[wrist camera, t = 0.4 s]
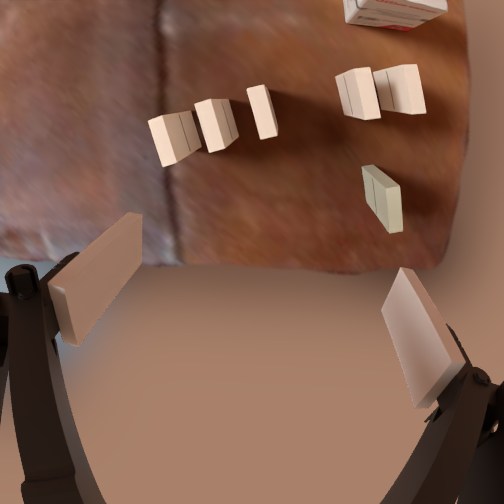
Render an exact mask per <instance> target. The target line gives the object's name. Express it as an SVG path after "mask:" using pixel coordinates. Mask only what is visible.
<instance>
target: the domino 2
mask: <svg viewBox="0 0 504 504" xmlns="http://www.w3.org/2000/svg"><path fill="white" fill-rule="evenodd" d="M194 105H195V108H196V111H197V115H198V118H199V121H200V124H201V128H202V131H203V134H204V138H205V141H206V144H207V148H208V151H209V153H211V152H214V151H218V150H221V149H225V148H226V147H227V146H229V145H230V144H231V143H232V142H233V141H234V140H236V139H237V138H238V137H239V134H238V131H237V127H236V124H235V120H234V117H233V113H232V110H231V106H230V103H229V99H209V100H205V101H202V102H199V103H196V104H194Z"/></svg>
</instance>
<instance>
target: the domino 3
mask: <svg viewBox="0 0 504 504" xmlns="http://www.w3.org/2000/svg"><path fill="white" fill-rule="evenodd" d="M247 93H248V96H249V100H250V103H251V107H252V110H253V114H254V118H255V121H256V125H257V129H258V132H259V136H260V140H261V139H265V138H270V137H274V136H277V135H278V124H277V120H276V117H275V113H274V109H273V105H272V102H271V98H270V94H269V91H268V89H267V88H266V86H265V85H260V86H256V87H252V88H248V89H247Z"/></svg>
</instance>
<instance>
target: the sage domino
mask: <svg viewBox="0 0 504 504" xmlns="http://www.w3.org/2000/svg"><path fill="white" fill-rule="evenodd" d="M362 172H363V179H364V186H365V193H366V201H367V203H368V205H369V206H370V207H371V209H372V210H373V211H374V213H375V214H376V215H377V217H378V218H379V220H380V221H381V222H382V224H383V225H384V227H385V228H386V229H387V231H388V232H389V234H390V233H395V232H400V231H403V221H402V205H401V192H400V186H399V185H398V184H397V183H396V182H394V181H393V180H392V179H391V178H390V177H388V176H387V175H386V174H385V173H383V172H382V171H381V170H379V169H378V168H377V167H376V166H374V165H367V166H362Z"/></svg>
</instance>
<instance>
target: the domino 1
mask: <svg viewBox="0 0 504 504" xmlns="http://www.w3.org/2000/svg"><path fill="white" fill-rule="evenodd" d="M148 123H149V126H150V129H151V133H152V136H153V139H154V142H155V145H156V148H157V151H158V154H159V157H160V160H161V163H162V166H163V167H164V166H168V165H171V164H174V163H177V162H179V161H180V160H182V159H183V158H185V157H186V156H188V155H189V154H191V153H193V152H194V151H196V150H197V149H199V148H201V147H202V146H201V143H200V139H199V136H198V133H197V130H196V126H195V123H194V120H193V116H192V113H191V111H186V112H180V113H174V114H168V115H162V116H159V117H157V118H154V119H151V120H149V121H148Z"/></svg>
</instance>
